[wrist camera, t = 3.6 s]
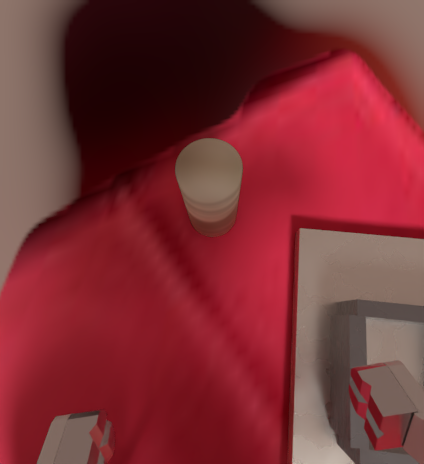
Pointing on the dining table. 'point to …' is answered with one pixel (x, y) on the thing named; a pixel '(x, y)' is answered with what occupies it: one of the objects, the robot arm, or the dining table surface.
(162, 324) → the dining table surface
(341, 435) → the grey block with recess
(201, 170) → the disc
